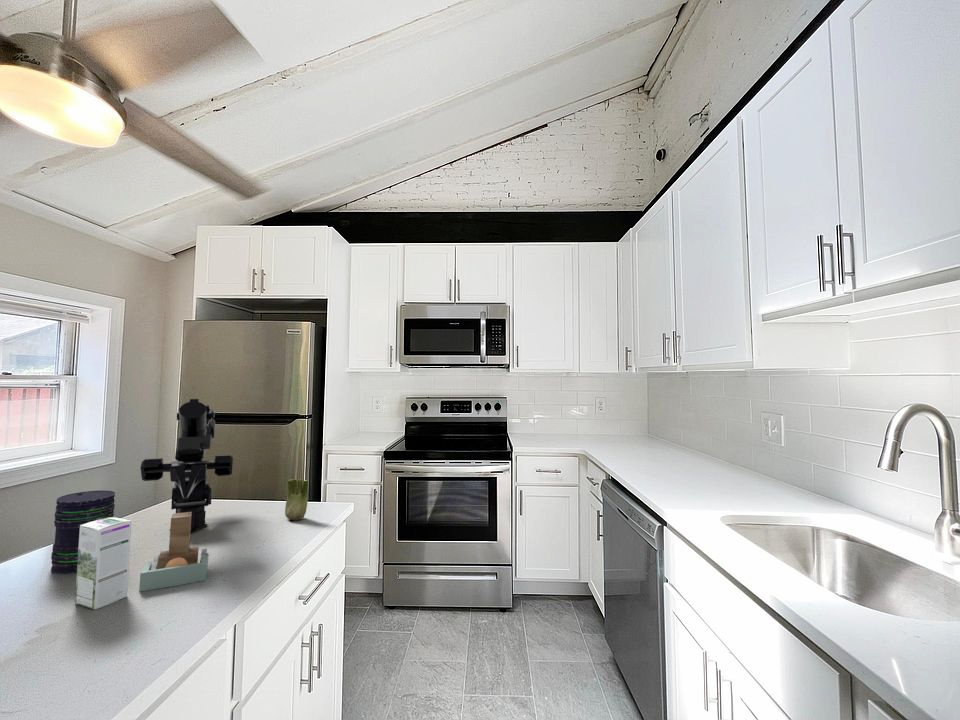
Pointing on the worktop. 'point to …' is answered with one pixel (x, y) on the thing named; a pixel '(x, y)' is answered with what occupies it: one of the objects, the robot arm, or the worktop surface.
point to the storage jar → (76, 525)
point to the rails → (155, 561)
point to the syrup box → (103, 562)
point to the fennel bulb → (296, 500)
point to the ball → (176, 562)
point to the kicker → (179, 541)
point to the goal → (172, 575)
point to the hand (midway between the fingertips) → (185, 497)
